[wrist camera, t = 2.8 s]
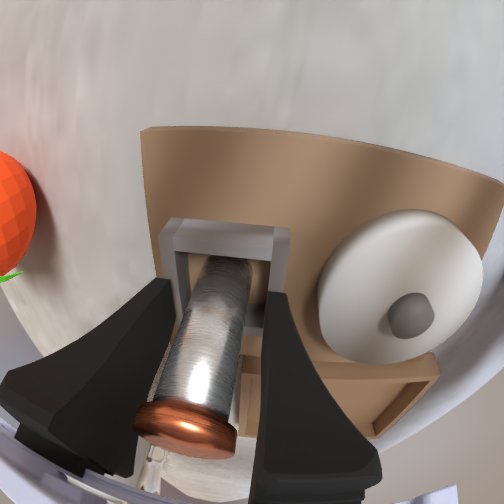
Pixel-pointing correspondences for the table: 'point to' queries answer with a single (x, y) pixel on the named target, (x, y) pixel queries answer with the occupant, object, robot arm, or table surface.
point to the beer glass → (151, 470)
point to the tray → (351, 391)
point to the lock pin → (202, 367)
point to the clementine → (14, 214)
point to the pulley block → (323, 234)
